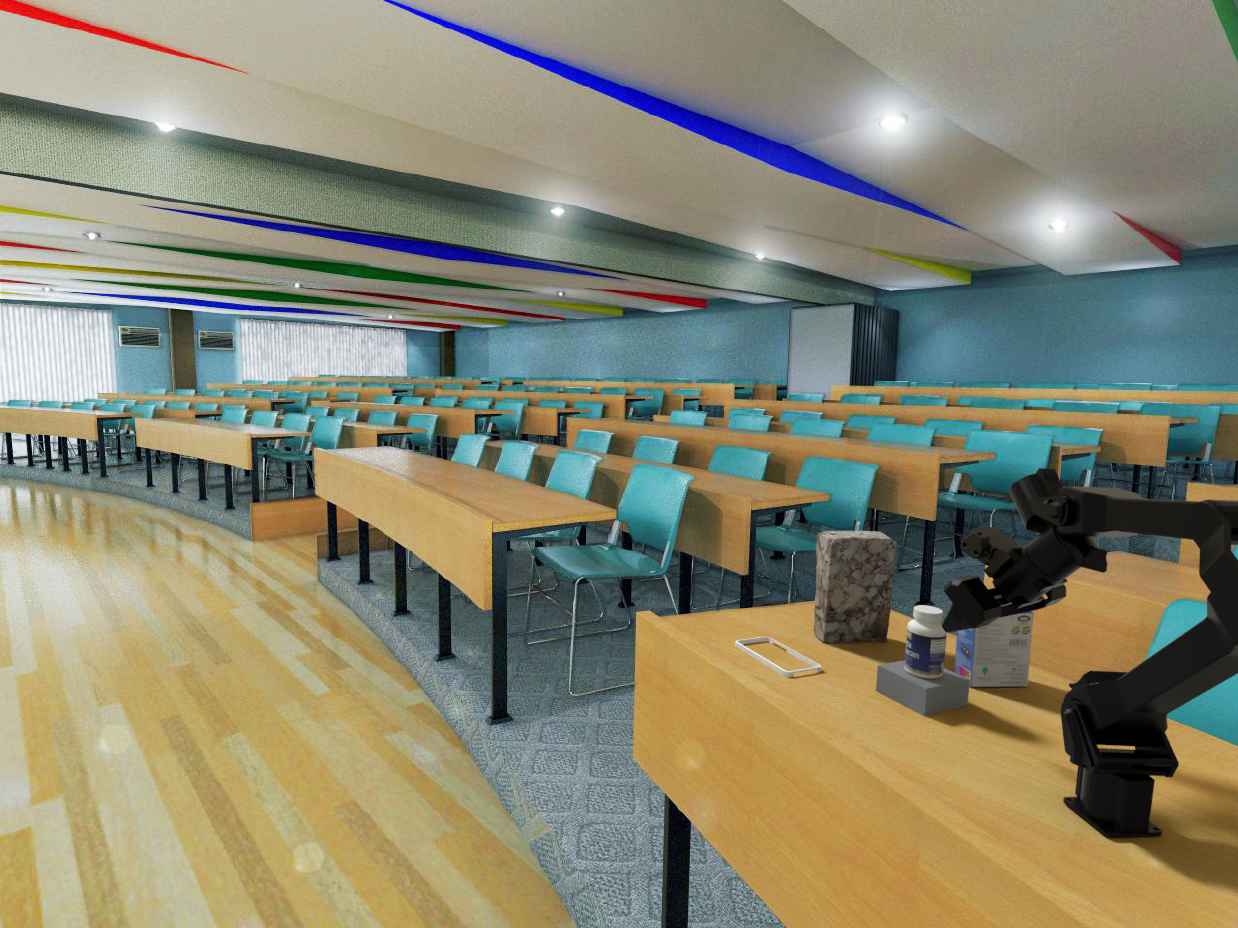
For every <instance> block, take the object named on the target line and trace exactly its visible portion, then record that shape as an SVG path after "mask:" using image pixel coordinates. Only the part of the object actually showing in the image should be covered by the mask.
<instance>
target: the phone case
mask: <svg viewBox="0 0 1238 928" xmlns="http://www.w3.org/2000/svg"><path fill="white" fill-rule="evenodd" d="M763 642H768V643H770V644H771V645H773V644H776V645H778V646H779V647H781V648H783V649H785V650H786V653H788V654H790V655H791V656H793V657H794V658H797V659H799V661H802V662H804V663H806V664H807V665H809V666H811V667H807V668H800V669H794V670H786V669H785V668H783V667H781V666H779V665H777V664H776V663H774V662H772V661H770V660H769V659H768V658H765V657H764V656H763V655H761V654H759V653H758V652H755V651H753V650H752V649H751V648H748V646H745V645H748V644H755V643H763ZM734 643H735V644H734V645H735V647H736V648H737V649H739V650H741V651H743V652H744V653H746V654H747V655H749V657H750V656H751V657H752V658H753V659H755V660H757V661H759V662H760V663H762V665H763V664H764V665H765V666H766V667H768V668H770V669H772V671H775V672H776V673H778V674H780V675H781V676H783V677H786V678H793V677H794V674H797V673H802V672H803V673H804V672H808V671H814V670H815V673H821V672H822V665H821V664H819V663H818V662H815V661H814V660H812V659H810V658H809V657H807V656H805V655H803V654H801V653H800V652H797V651H796V650H794V649H792V648H790V647H788V646H787V645H785V644H783V643H782V642H779V641H778V640H776V639H774V638H772V637H770V636H759V637H752V638H751V637H750V638H745V639H738V640H735V642H734Z"/></svg>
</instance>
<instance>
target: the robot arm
mask: <svg viewBox="0 0 1238 928" xmlns="http://www.w3.org/2000/svg"><path fill="white" fill-rule="evenodd" d="M1009 494H1010V497H1011V499H1012V501H1013V503H1014V505H1015V509H1016V510H1017V512H1018V514H1019V516H1020V518H1021V520H1022V523H1023V525H1024V527H1025V529H1026V531H1031V532H1034V533H1037V534H1039V535H1037V536H1035V538H1034V539H1032V540H1031V541H1029V542H1028V543H1027V544H1025V546H1023V547H1022V546H1021V545H1019V544H1018V542H1016V541H1015V540H1013V539H1012V538H1011V537H1009V536H1007V535H1006V534H1004V533H1002V532H1001V531H999V530H998V529H996V528H995V527H992V526H989V525H986V526H979V527H975V528H971V529H970V531H967V532H966V534H965V535H964V536H961V537H960V539H959V541H960V550H961V552H964V554H966V555H967V556H968V557H970V558H972V559H973V560H977V561H979V562H981V563H982V564H983V565H985V566H986V567H985V568H984V569H983V571H984V573H985V574H986V576H987V577H988V578H990V579H992V581H991V583H992V585H993V588H989V589H988V587H987V586H986V584H984V582H983V581H982V579H981V578H980V577H979V576H975V575H972V574H969V575H963V576H960V577H957V578H953V579H952V580H950V581H949V582H948V583H947V584H945V585H944V586H943V592H944V593H945V595H946V596H947V597H948V599H949V600H950V601H951V603H952V604H951V605H950V608H949V611H948V612H947V615H946V616H945V618H944V619H943V620H944V621H942V623H941V624H942V628H943V629H944V631H945V632H947V633H952V632H957V631H959V630H966V629H972V628H979V627H982V626H986V625H989V624H990V623H991V622H993V621H995V620H996V619H998V618H1001V617H1006V616H1010V615H1015V614H1020V613H1025V612H1030V611H1032V612H1034V611H1037V610H1042V609H1044V608H1048V607H1049V606H1052V605H1056V604H1058V603H1059V602H1060V601H1062V600H1063V599H1064V598H1066V597H1067V587H1066V585H1065V584H1066V583H1067V582H1068V580H1067V578H1069V576H1071V575H1072V574H1074V573H1075V572H1077V571H1078V570H1079V569H1080V568H1083V569H1087V570H1090V571H1095V572H1097V573H1102V574H1103V573H1104V574H1105V573H1106V572H1107V571H1108V561H1107V556H1108V550H1107V549H1105V548H1102V547H1099V545H1098V543H1097V542H1096V540H1095V537H1099V538H1124V537H1126V538H1127V537H1134V536H1138V535H1139V534H1140V535H1148V536H1156V537H1165V538H1175V539H1184V540H1191V541H1192V540H1193V542H1194V543H1195V544H1196V546H1197V547H1198V549H1199V561H1198V562H1199V564H1198V566H1199V567H1198V575H1199V577H1200V579H1201V580H1202V581H1203V583H1204V584H1205V586H1206V587H1207V588H1208V590H1209V593H1208V595H1207V596H1206V616H1205V618H1204V619H1202V620H1200V621H1198V622H1197V623H1196V624H1195V625H1194V626H1192V627H1190V629H1188V630H1187V631H1185V632H1184V633H1182V634H1180V635H1179V636H1178V637H1176V638H1175V639H1174V640H1172V641H1171V642H1169V643H1168V644H1166V645H1164V646H1163V647H1162V648H1161V649H1159V650H1158V651H1157V652H1155V653H1153V654H1152V655H1151V656H1149V657H1148V658H1147V659H1145V660H1143V661H1142V662H1140V663H1139V664H1138V665H1136V666H1135V667H1134V668H1132V669H1130V670H1129V671H1111V670H1110V671H1108V670H1107V671H1106V670H1089V671H1087V672H1086V673H1084V674H1083V675H1082V676H1081V677H1080V679H1079V680H1078V681H1075V682H1073V683H1068V686H1069V688H1070V690H1069V691H1068V692H1067V693H1066V694H1065V695H1064V698H1063V700H1062V701H1063V702H1062V703H1061V706H1060V707H1061V708H1060V718H1061V729H1062V736H1063V737H1062V738H1063V746H1064V751H1065V754H1066V755H1068V756H1069V762H1070V763H1071V764H1072V765H1075V766H1077V774H1076V783H1075V792H1074V793H1075V796H1064V797H1063V803H1064V804H1065V805H1066V806H1067V807H1069V808H1070V809H1071V811H1072V810H1073V812H1075V814H1078V816H1079V817H1081V818H1082V819H1083V820H1084V821H1086V822H1087V823H1088V824H1090V825H1091V826H1092V827H1093V828H1095V830H1097V831H1098V832H1100V833H1101V834H1102V835H1103V836H1105V837H1108V838H1125V837H1127V838H1128V837H1157V836H1159V837H1160V836H1162V835H1163V830H1162V829H1161V828H1160V827H1159V826H1157V825H1156V824H1155V823H1153V822H1151V821H1150V820H1151V812H1152V806H1153V805H1152V804H1153V798H1154V788H1155V782H1156V780H1155V779H1154V778H1153V777H1165V778H1174V777H1173V776H1174V775H1175V774H1176V772H1177V769H1178V767H1179V760H1178V758H1177V756H1176V754H1175V752H1174V749H1173V747H1172V745H1171V743H1170V740H1169V738H1168V736H1167V733H1166V731H1167V730H1168V727H1169V725H1168V715H1169V714H1170V713H1171V712H1173V711H1175V710H1177V709H1178V708H1180V707H1182V706H1184V705H1186V704H1188V703H1189V702H1190V701H1192V700H1194V699H1196V698H1197V697H1200V696H1201V695H1203V694H1205V693H1206V692H1208V691H1210V690H1212V689H1213V688H1215V687H1217V686H1219V685H1221V684H1222V683H1224V682H1226V681H1227V680H1229V679H1231V678H1232V677H1234V676H1236V675H1238V558H1237V557H1236V555H1235V554H1234V552H1233V551H1232V546H1238V500H1236V499H1235V500H1232V499H1231V500H1229V499H1204V500H1200V501H1197V500H1195V501H1194V500H1193V501H1192V500H1176V499H1175V500H1174V499H1154V498H1152V499H1150V498H1146V497H1142V496H1141V495H1140V494H1139V493H1137V492H1133V491H1130V490H1127V489H1123V488H1119V487H1118V488H1117V487H1098V486H1097V487H1095V486H1074V485H1073V486H1071V485H1070V486H1069V485H1067V486H1063V484H1062V482H1061V481H1060V478H1059V475H1058V472H1057V470H1056V469H1055V468H1047V467H1046V468H1038V469H1037V470H1036V472H1035V473H1032V474H1027V475H1025V476H1024V477H1021V478H1020V479H1018V480H1017V481H1015V482H1013V483H1012V484H1011V485H1010V488H1009ZM1044 596H1046V597H1047V598H1045V597H1044ZM1098 746H1111V747H1112V746H1114V747H1117V746H1118V747H1134V749H1131V748H1130V749H1127V748H1109V747H1108V748H1105V747H1098ZM1152 776H1153V777H1152Z"/></svg>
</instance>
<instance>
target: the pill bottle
mask: <svg viewBox="0 0 1238 928" xmlns="http://www.w3.org/2000/svg"><path fill="white" fill-rule="evenodd" d="M912 613H913V615H912V616H913V619H911V620H910V621H909V622H908V623H907V628H906V638H905V652H904V653H905V654H904V660H905V663H904V668H905V670H906V671H907V672H908V673H910V674H912V675H914V676H917V677H921V678H926V679H936V678H940V677H941V676H942V675H943V671H944V668H945V659H946V647H947V646H946V645H947V637H948V636H947V635H948V632H945V631H944V629H943V628H942V624H943V620H944V619H943V618H944V611H943V610H942V609H941V608H938V607H935V606H932V605H921V604H919V605H916V606H914V607H913V612H912Z"/></svg>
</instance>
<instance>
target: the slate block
mask: <svg viewBox="0 0 1238 928" xmlns="http://www.w3.org/2000/svg"><path fill="white" fill-rule="evenodd" d="M904 663H905V659H904V660H900V661H893V662H888V663H883V664H878V665H877V670H876V671H877V672H876V684H875V691H876V692H878V693H880V694H882V695H884V696H886V697H887V698H889V699H891V700H893V701H895V702H897V703H899V704H901V705H903V706H905V707H906V708H909V709H910V710H912V711H914V712H916V713H918V714H920V715H921V716H923V717H925V716H929V715H933V714H938V713H942V712H946V711H950V710H955V709H959V708H962V707H967V706H968V704H969V693H970V686H969V685H970V679H968V678H966V677H963V676H961V675H959V674H957V673H955V671H952V670H950V669H947V668H945V667H944V671H943V675H942V676H941V677H940V678H936V679H926V678H921V677H917V676H914V675H912V674H910V673H908V672H907V671H906V670H905V668H904Z"/></svg>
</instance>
